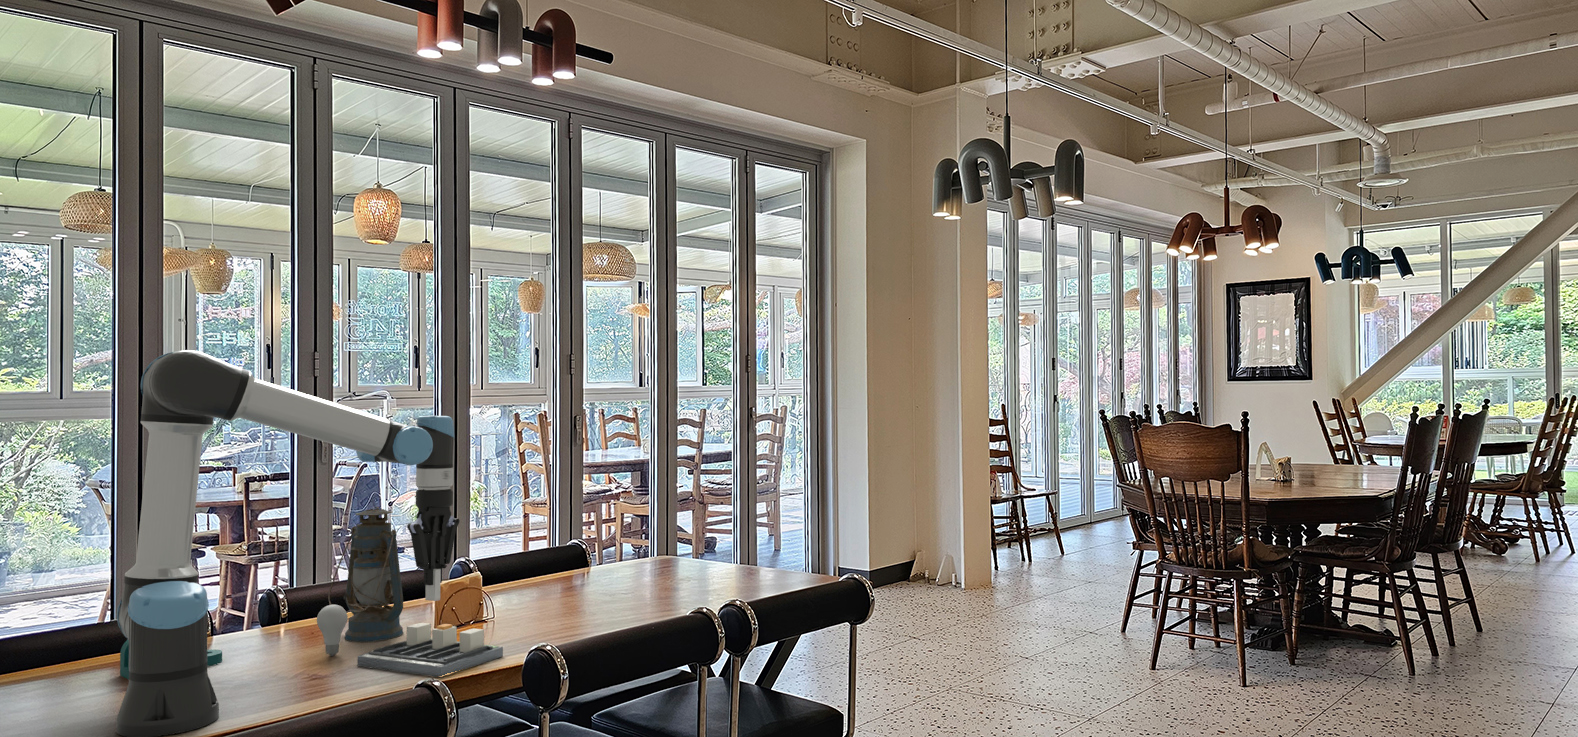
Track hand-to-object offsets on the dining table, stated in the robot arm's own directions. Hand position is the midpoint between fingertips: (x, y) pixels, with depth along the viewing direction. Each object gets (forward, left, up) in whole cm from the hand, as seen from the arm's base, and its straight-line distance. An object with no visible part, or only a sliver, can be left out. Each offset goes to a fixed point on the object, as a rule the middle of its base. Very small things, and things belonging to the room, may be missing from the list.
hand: (432, 599), depth 220 cm
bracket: (-26, +45, -13) cm, 54 cm away
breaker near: (+3, -8, -11) cm, 14 cm away
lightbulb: (-6, +23, -13) cm, 27 cm away
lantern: (+11, +30, -13) cm, 35 cm away
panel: (-1, 0, -13) cm, 13 cm away
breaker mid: (+3, 0, -11) cm, 11 cm away
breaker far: (+3, +7, -11) cm, 13 cm away
